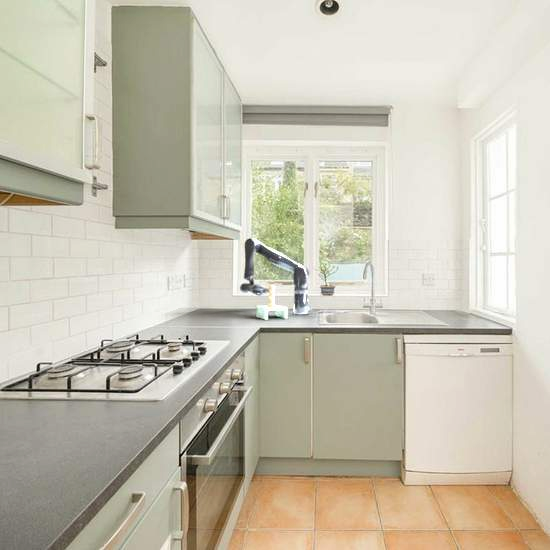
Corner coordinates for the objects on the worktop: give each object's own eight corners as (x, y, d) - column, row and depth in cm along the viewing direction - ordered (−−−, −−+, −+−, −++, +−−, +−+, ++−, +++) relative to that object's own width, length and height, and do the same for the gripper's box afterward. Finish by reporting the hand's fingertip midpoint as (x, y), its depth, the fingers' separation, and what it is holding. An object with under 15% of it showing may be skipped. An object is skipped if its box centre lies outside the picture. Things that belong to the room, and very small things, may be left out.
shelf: (277, 315, 309) (278, 305, 309) (287, 318, 297) (287, 307, 297) (256, 316, 302) (256, 306, 302) (264, 319, 290) (265, 308, 290)
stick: (273, 306, 303) (273, 284, 302) (277, 307, 298) (277, 285, 297) (266, 306, 301) (266, 284, 300) (269, 307, 296) (270, 285, 295)
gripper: (247, 284, 317) (256, 286, 303) (266, 284, 324) (276, 286, 309) (247, 295, 318) (256, 297, 303) (266, 295, 324) (276, 297, 310)
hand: (266, 291), depth 306 cm, fingers open, 8 cm apart
